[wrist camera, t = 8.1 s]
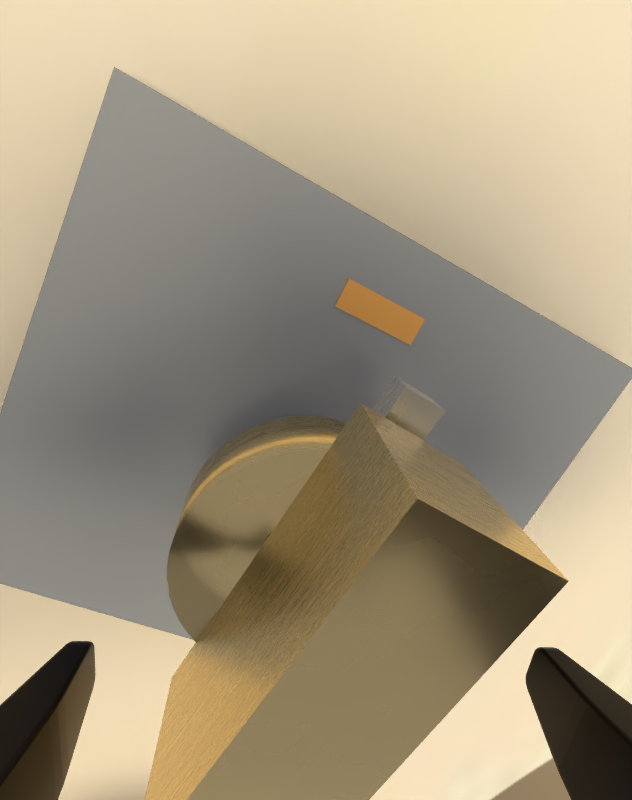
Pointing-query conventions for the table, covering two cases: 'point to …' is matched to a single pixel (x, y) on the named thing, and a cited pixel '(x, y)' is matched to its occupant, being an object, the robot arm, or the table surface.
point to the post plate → (245, 352)
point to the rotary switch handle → (334, 604)
